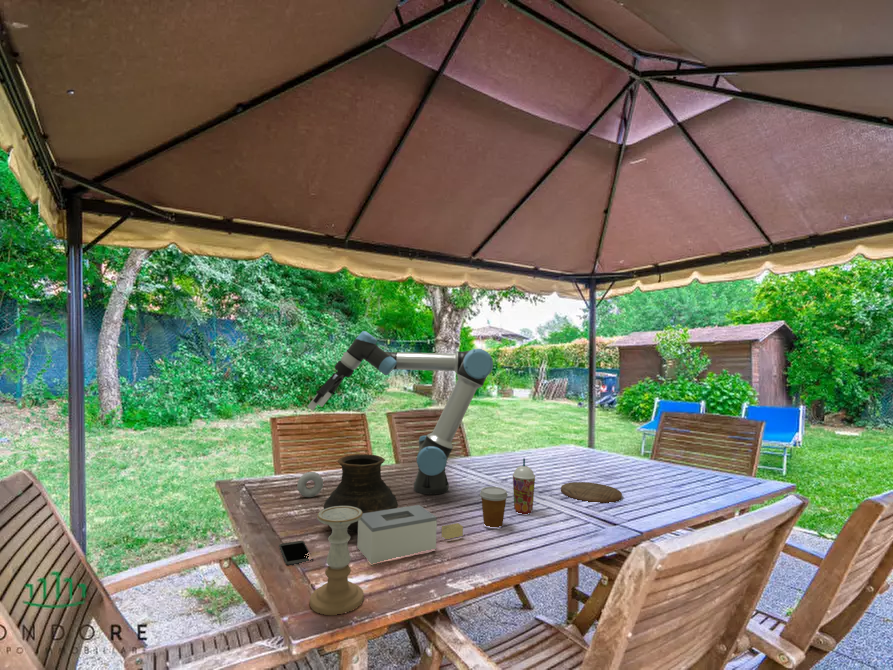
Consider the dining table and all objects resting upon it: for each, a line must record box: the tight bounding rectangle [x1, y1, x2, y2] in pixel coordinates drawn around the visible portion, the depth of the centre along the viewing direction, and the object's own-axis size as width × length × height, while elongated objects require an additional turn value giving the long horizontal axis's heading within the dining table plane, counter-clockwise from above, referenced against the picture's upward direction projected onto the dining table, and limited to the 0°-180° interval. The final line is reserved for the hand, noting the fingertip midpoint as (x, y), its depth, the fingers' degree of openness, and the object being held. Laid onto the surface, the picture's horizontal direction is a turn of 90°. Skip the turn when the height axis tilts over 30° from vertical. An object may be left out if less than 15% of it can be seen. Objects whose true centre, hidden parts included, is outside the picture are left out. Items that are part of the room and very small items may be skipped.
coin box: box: [356, 504, 438, 564], centre depth 131 cm, size 20×12×10 cm, turn 119°
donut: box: [296, 471, 324, 498], centre depth 178 cm, size 10×4×10 cm, turn 109°
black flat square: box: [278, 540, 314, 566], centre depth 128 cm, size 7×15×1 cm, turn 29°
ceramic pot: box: [323, 453, 399, 533], centre depth 148 cm, size 24×24×22 cm
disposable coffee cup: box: [479, 486, 509, 527], centre depth 152 cm, size 10×10×12 cm
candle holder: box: [309, 506, 365, 616], centre depth 104 cm, size 12×12×20 cm
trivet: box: [560, 481, 623, 504], centre depth 192 cm, size 25×25×2 cm
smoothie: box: [512, 457, 536, 514], centre depth 166 cm, size 8×8×20 cm
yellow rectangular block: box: [441, 523, 464, 539], centre depth 140 cm, size 6×3×4 cm, turn 119°
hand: (314, 406), depth 179 cm, fingers open, 13 cm apart
